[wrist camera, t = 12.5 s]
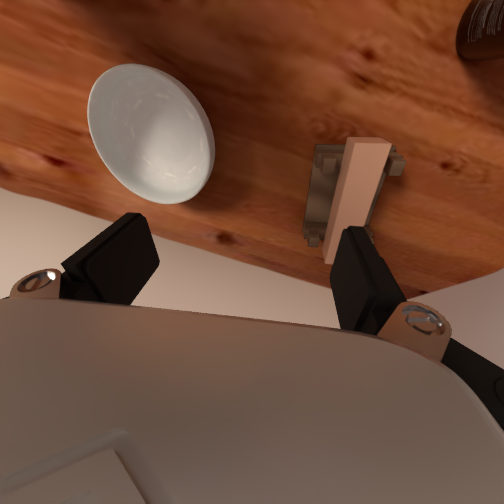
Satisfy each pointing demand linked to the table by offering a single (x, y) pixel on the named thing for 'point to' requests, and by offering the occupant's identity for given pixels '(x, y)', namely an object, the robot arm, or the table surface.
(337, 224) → the pink rectangular bar
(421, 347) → the robot arm
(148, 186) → the cereal bowl
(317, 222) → the plate with corner blocks
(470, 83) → the table surface
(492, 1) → the supplement bottle
